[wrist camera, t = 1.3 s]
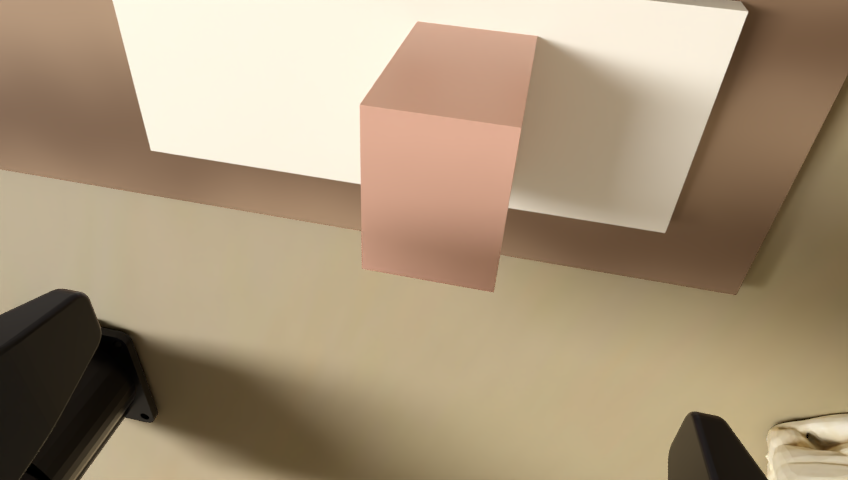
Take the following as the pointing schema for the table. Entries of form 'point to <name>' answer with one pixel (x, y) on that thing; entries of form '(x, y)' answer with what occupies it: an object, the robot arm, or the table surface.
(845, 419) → the storage basket
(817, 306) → the table surface
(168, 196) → the brown flat board
